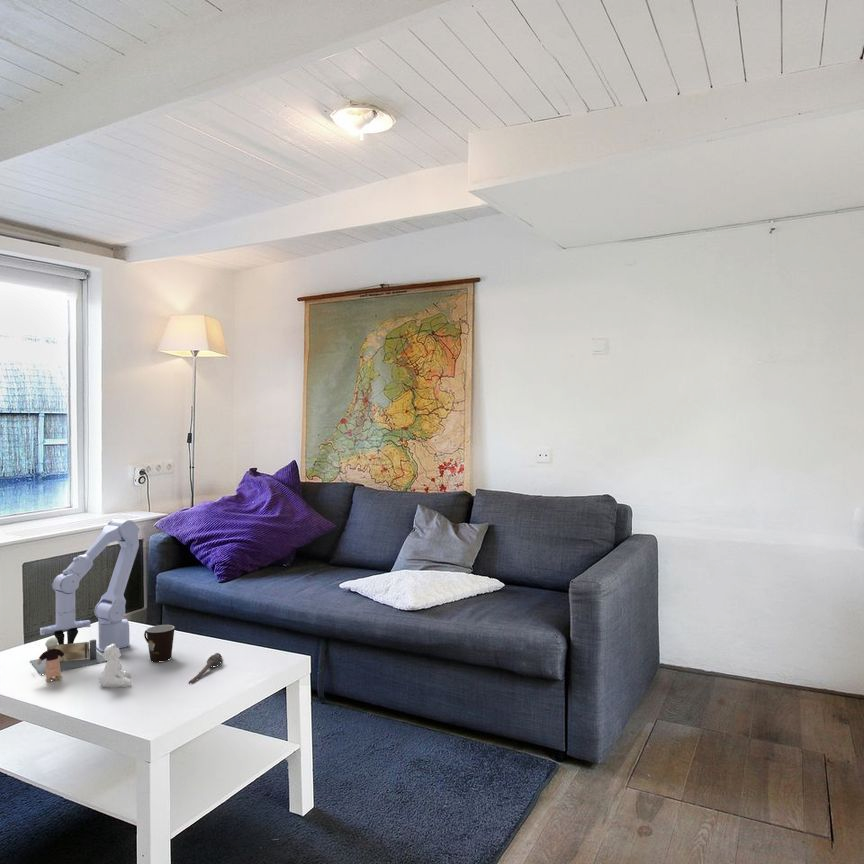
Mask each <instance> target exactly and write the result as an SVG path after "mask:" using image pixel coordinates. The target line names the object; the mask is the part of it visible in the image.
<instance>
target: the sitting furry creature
mask: <svg viewBox="0 0 864 864" xmlns="http://www.w3.org/2000/svg"><path fill="white" fill-rule="evenodd" d="M120 649H121V648H116V646H115V644H110V646H107V647H106V648H105V650H104V651H103V654H104V658H105V659H106V660H107V662H105V665H104V669H103V670H102V672H101V674H100V676H99V678H98V680H99V684H100V685H101V686H103V687H104V688H106V689H107V688H109V689H110V688H129V687H131V686H132V679H130V678H131V675H132V674H131V672H130V671H129V670H123V669H122V667H123V666H122V663H121V660H120V657H121V656H122V654H121V651H120Z"/></svg>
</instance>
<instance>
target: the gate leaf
mask: <svg viewBox="0 0 864 864" xmlns="http://www.w3.org/2000/svg"><path fill="white" fill-rule="evenodd" d="M55 649H59V650H61V651H62V652H63V653H64V655H65V657H66V658H67V660H75V659H86V658H89V649H90V641H83V642H73V643H70V644H67V643H64V644H58V645H57V646H56V648H55ZM48 650H50V649H48V648H47V647H46V651H48ZM58 658H59V661H63V659H62V657H60V656H58Z"/></svg>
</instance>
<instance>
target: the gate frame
mask: <svg viewBox="0 0 864 864" xmlns="http://www.w3.org/2000/svg"><path fill="white" fill-rule="evenodd" d="M96 645H97V639H91V640H89V658H86V659H75V660H66V661H60V670H61V672H64V671H63V670H65V671H68V670H69V669H70V670H74V669H78V668H83V666H84V667H87V665H88V666H93V665H96V663H98V664H101V663H100V662H102V663H106V661H108V659H107V658H106V657H105V656H103V655H101V653H100V652H98V651H97V648H96ZM46 659H47V658H46ZM46 659H44V660H42V662H41V664H40V665H38V664H37V662H38V660H39V658H38V659H33V660H29V662H30V664H31V663H32V664H31V665H32V666H33V667H34V669H35V668H36V669H37V670H38V671H37V670H36V669H35V670H36V671H37V672H38V674H39V673H40V674H41V675H40V674H39V675H40V676H43V675H42V674H46ZM92 664H93V665H92Z"/></svg>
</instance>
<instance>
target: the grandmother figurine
mask: <svg viewBox="0 0 864 864" xmlns="http://www.w3.org/2000/svg"><path fill="white" fill-rule="evenodd" d="M57 645H59V644H58V640H57V638H56V637H55V636H54V637H52V636H51V637H49V638H48V639H47V640H46V641H45V645H44V646H45V647H46V649H47V648H48V649H50V650H48V651H47V650H46V651H45V650H44V652H42V654H41V655H39V657H38V659H39V660H38V662H37V664H38V665H40V664H41V662H42V660H44V659H46V658H47V659H46V675H45V677H46V679H45V680H47V681H50V682H52V681H51V680H53V681H54V680H55V681H59V680H58V679H60V680H61V679H62V678H63V675H62V673H61V672H62V671H61V670H60V661H59V658H58V656H60V657H62V659H63V661H66V660H67V658H66V657H65V655H64V653H63V652H62V651H61V650H59V649H55V648H56V646H57ZM47 681H46V682H47Z"/></svg>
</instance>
